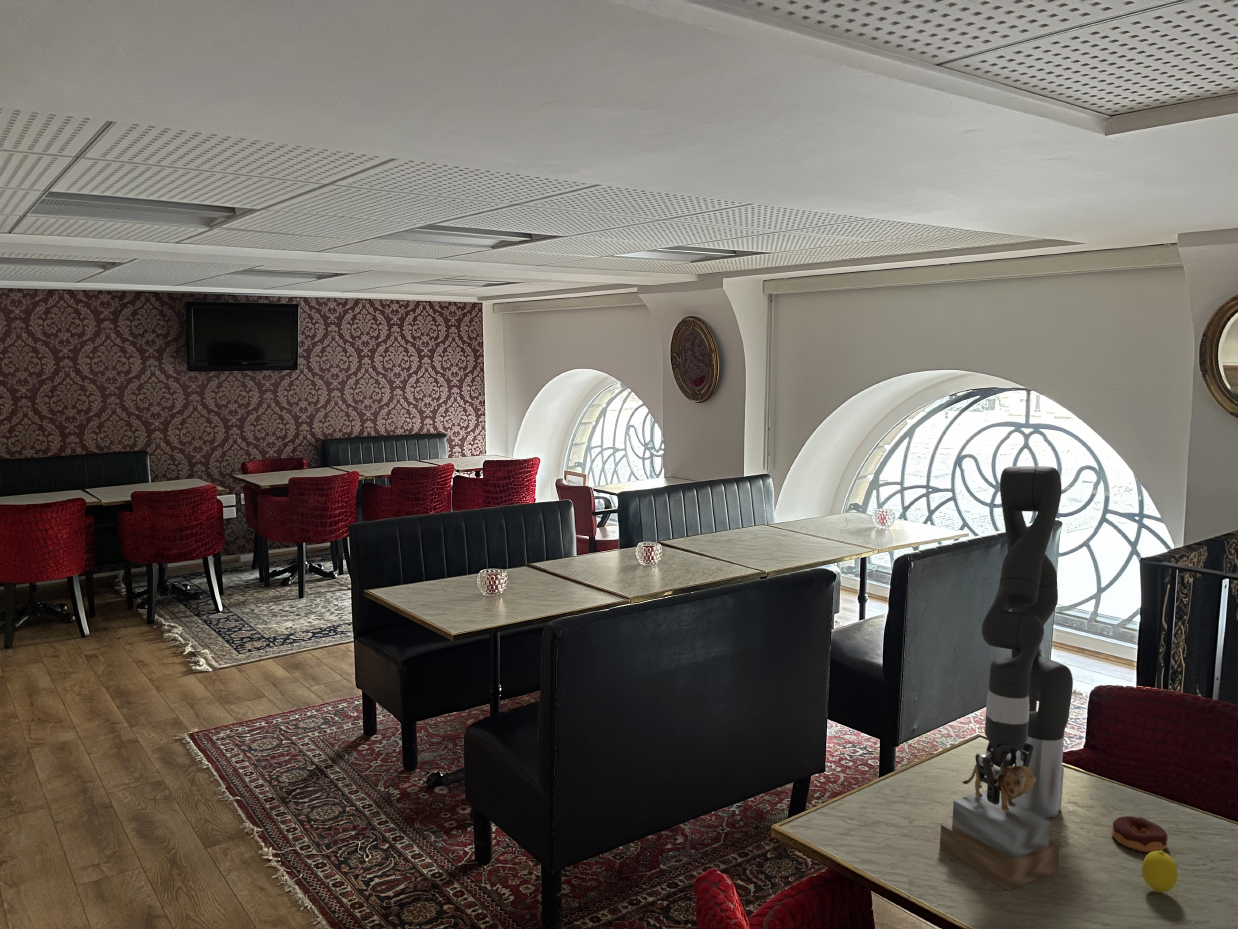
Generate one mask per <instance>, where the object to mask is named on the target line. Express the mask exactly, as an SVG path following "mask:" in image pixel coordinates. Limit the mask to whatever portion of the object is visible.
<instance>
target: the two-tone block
mask: <svg viewBox="0 0 1238 929" xmlns="http://www.w3.org/2000/svg"><path fill="white" fill-rule="evenodd" d="M980 793H981V794H982V797H980V798H979V797H977V796H976V794H975V793H972V794H969V795H967V796H964V797H960V798H957V799H954V800H953V804H952V805H953V806H952V820H950V821H948V822H945V823H941V824H940V833H939V834H940V838H939V849H940V850H942V851H943V852H945V853H946V854H948V855H950V856H951V857H953V858H954V859H956V860H957V861H959V862H961V863H963V864H964V865H965V866H968V867H969V868H971V869H973V870H974V871H976V872H977V873H978V874H981V875H982V876H984V877H985V878H987V879H989V880H991V882H994V883H995V884H997V885H998V886H1000V887H1002V888H1003V889H1004V890H1006V891H1010V890H1013V889H1015V888H1018V887H1021V886H1023V885H1025V884H1028V883H1031V882H1033V881H1034V882H1035V881H1036V880H1038V879H1041V878H1043V877H1046V876H1049V875H1052V874H1054V873H1056V872H1059V867H1060V865H1059V863H1060V854H1061V853H1060V852H1061V845H1059V844H1057V843H1056V842H1053V840H1050V830H1051V820H1049V819H1048V818H1043V817H1042V816H1040V815H1038V814H1036V813H1034V812H1032V811H1030V810H1028V809H1026V808H1024V807H1022V806H1020V805H1018V804H1016V803H1015V804H1016V806H1015V807H1011V806H1009V805H1008V804H1007V806H1008V808H1009V811H1008V812H1005V811H1003V810H1002V799H1001V795H1000V801H999V804H997V805H995V804H993V803H991V802H989V801H988V799H987V789H985V790H983V791H980ZM1013 803H1014V802H1013Z"/></svg>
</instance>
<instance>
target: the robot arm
mask: <svg viewBox="0 0 1238 929" xmlns="http://www.w3.org/2000/svg"><path fill="white" fill-rule="evenodd" d="M1062 489H1063V488H1062V478H1061V475H1060V472H1059V471H1058V469H1057V468H1055V467H1053V466H1042V465H1041V466H1040V465H1039V466H1038V465H1037V466H1035V465H1034V466H1033V465H1032V466H1031V465H1030V466H1027V465H1026V466H1025V465H1024V466H1019V465H1016V466H1006V467H1005V468H1004V469H1003V470H1002V471H1001V475H1000V478H999V494H1000V502H1001V509H1002V516H1003V522H1004V530H1005V536H1006V538H1005V539H1006V545H1007V546H1006V547H1007V553H1006V554H1005V556H1004V558H1003V562H1002V566H1001V572H1000V578H999V584H998V588H997V591H996V592H997V593H996V595H995V597H994V600H993V602H992V604H991V606H990V607H989V609H988V611H987V613H986V615H985V617H984V618H983V620H982V624H981V635H982V638H983V640H984V642H985V643H986V644H987V645H988V646H990V647H994V648H1000V649H1006V650H1011V654H1010V657H1002V658H996V659H994V660H993V661H992V662H991V663H990V666H989V667H990V668H989V680H988V682H989V684H988V693H987V697H986V707H985V725H984V735H985V736H986V738H987V740H988V743H987V747H986V749H985V750H986V752H984V753H982V754H981V753H976V754H975V756H974V757H975V758H974V759H975V765H976V764H977V770H978V775H979V780H980V781H982V782H983V783H985V784H986V785H987V786H986V790H987V799H988V801H989V802H991V803H993V804H995V805H997V804H999V801H1000V796H1001V792H1000V783H1001V779H1002V776H1004V775H1005V773H1006V769H1009V768H1014V767H1017V766H1026V767H1029V769H1030V770H1031V773H1033V776H1035V777H1036V782H1035V783H1033V788H1032V789H1031V791H1030V792H1028V793H1024V794H1022V795H1021V796H1019V797H1017V798H1016V797H1013V800H1012V802H1014V803H1016V804H1018V805H1020V806H1022V807H1024V808H1026V809H1028V810H1030V811H1032V812H1034V813H1036V814H1038V815H1040V816H1042V817H1043V818H1045V819H1051V818H1052V819H1053V818H1055V817H1057V816H1058V814H1059V811H1060V810H1061V809H1062V798H1063V797H1062V796H1063V788H1064V787H1063V784H1064V772H1065V771H1064V770H1065V769H1064V766H1063V756H1064V742H1065V741H1064V740H1065V731H1066V728H1067V726H1068V725H1067V724H1068V722H1069V718H1070V709H1071V702H1072V696H1073V695H1072V694H1073V688H1074V679H1073V678H1074V677H1073V674H1072V671H1071V670H1070V667H1068V666H1067V665H1065V664H1063V663H1061V662H1059V661H1055V660H1053V659H1050V658H1047V657H1044V656H1042V654H1041V648H1040V647H1041V644H1042V641H1043V639H1044V635H1045V627H1044V626H1045V624H1046V623H1047V622H1048V620H1050V618H1051V617H1052V615H1053V613H1054V611H1055V609H1056V607H1057V605H1058V601H1059V592H1058V591H1059V590H1058V575H1057V571H1056V568H1055V565H1054V564H1053V562H1052V560H1051V559H1050V558H1049V556H1048V555H1047V554H1046V551H1047V549H1048V544H1049V541H1050V540H1051V536H1052V532H1053V530H1054V525H1055V522H1056V518H1057V515H1058V513H1059V508H1060V503H1061V497H1062V491H1063V490H1062ZM1023 512H1032V513H1033V512H1034V513H1035V512H1036V516H1035V518H1034V519H1033V522H1032V523H1031V525H1030V526H1029V527H1028V526H1027V523H1026V521H1025V518H1024V513H1023ZM1030 699H1031V700H1034V701H1035V702H1038V707H1037V710H1036V711H1034V710H1033V711H1030V708H1031V707H1030ZM997 767H998V768H997ZM993 772H994V773H996V777H995V779H994V778H993ZM985 775H986V776H985ZM982 782H981V783H982Z"/></svg>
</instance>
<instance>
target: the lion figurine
mask: <svg viewBox="0 0 1238 929" xmlns="http://www.w3.org/2000/svg"><path fill="white" fill-rule="evenodd" d="M975 776H976V778H974V777H975ZM985 776H986V775H985ZM995 777H996V773H994V772H993V778H994V779H995ZM973 779H975V782H974V790H975V793H974V794H976V796H977V797H979V798H980V797H982V794H981V793H980V792H981V791H980V789H982V788H983V785H982V781H980V780H979V775H978V770H977V764H976V763H975V766H974V768H973V770H972V773H971V776H970V777H969V778H968V779H967V780H963V781H962V784H964V785H967V784H970V783H971V782H972V781H973ZM1035 782H1036V777H1035V776H1033V773H1031V770H1030V769H1029V767H1026V766H1017V767H1014V768H1009V769H1006V773H1005V775H1004V776H1002V779H1001V783H1000V796H1001V799H1002V810H1003V811H1005V812H1008V811H1009V808H1008V806H1007V804H1008V805H1009V806H1011V807H1015V806H1016V804H1015V803H1013V802H1012V800H1013V797H1016V798H1017V797H1019V796H1021V795H1022V794H1024V793H1028V792H1030V791H1031V789H1032V788H1033V783H1035Z"/></svg>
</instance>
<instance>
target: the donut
mask: <svg viewBox="0 0 1238 929" xmlns="http://www.w3.org/2000/svg"><path fill="white" fill-rule="evenodd" d="M1110 831H1111V835H1112V836H1113V837H1114V838H1115V840H1116V841H1117V842H1118V843H1119V844H1121V845H1123V846H1124V847H1126V848H1128V849H1130V848H1131V850H1134V851H1136V850H1137V852H1141V853H1150V852H1153V851H1160V850H1161V851H1164V850H1165V849H1166V848H1167V847H1168V834H1167V832H1166V831H1165V829H1163V828H1162V827H1161V826H1160V825H1158V824H1156V823H1154V822H1152V821H1150V820H1147V819H1146V818H1144V817H1137V816H1130V815H1128V816H1120V817H1117V818H1115V820H1114V821H1113V822H1112V828H1111V830H1110Z"/></svg>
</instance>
